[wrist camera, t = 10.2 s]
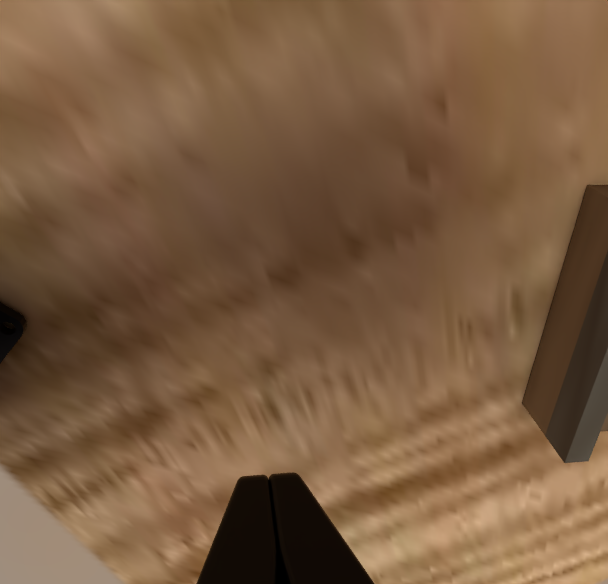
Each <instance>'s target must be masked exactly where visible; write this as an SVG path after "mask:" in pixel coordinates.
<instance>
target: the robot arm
mask: <svg viewBox="0 0 608 584" xmlns="http://www.w3.org/2000/svg"><path fill="white" fill-rule="evenodd" d="M4 322H8V323H12V324H13V325H14V326H15V328H12V329H11V328H8V327H6V326H5V325H4ZM26 326H27V322H26V319H25V318H24V316H23V315H22V314H20V313H19V312H17V311H15V310H14V309H12V308H10V307H8V306H6V305H4V304H3V303H1V302H0V363H1V362H2V360H3V359H4V358H5V357H6V355H7V354H8V353H9V351H10V350H11V349H12V348H13V346H14V345H15V344H16V343H17V341H18V340H19V339H20V337H21V336H22V334H23V332H24V331H25V329H26ZM197 584H374V582H373V581H372V579H371V578H370V577H369V575H368V574H367V572H366V571H365V569H364V568H363V566H362V565H361V564H360V562H359V561H358V559H357V558H356V556H355V555H354V553H353V552H352V551H351V549H350V548H349V546H348V545H347V543H346V542H345V540H344V539H343V538H342V536H341V535H340V533H339V532H338V530H337V529H336V527H335V526H334V524H333V523H332V522H331V520H330V519H329V517H328V516H327V514H326V513H325V511H324V510H323V509H322V507H321V506H320V504H319V503H318V501H317V500H316V498H315V497H314V496H313V494H312V493H311V491H310V490H309V488H308V487H307V485H306V484H305V483H304V481H303V480H302V478H301V477H300V476H299V475H298V474H297V473H280V474H272V475H271V476H270V477H269V480H268V477H267V476H265V475H253V476H243V477H240V478H239V480H238V481H237V483H236V486H235V488H234V491H233V493H232V496H231V498H230V501H229V503H228V506H227V508H226V511H225V513H224V516H223V518H222V521H221V523H220V526H219V528H218V531H217V533H216V536H215V538H214V541H213V543H212V546H211V549H210V551H209V554H208V556H207V559H206V561H205V564H204V566H203V569H202V571H201V574H200V576H199V579H198V581H197Z"/></svg>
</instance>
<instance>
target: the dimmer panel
mask: <svg viewBox="0 0 608 584" xmlns="http://www.w3.org/2000/svg"><path fill="white" fill-rule="evenodd" d="M522 404H523V405H524V407H525V408H526V409H527V411H528V412H529V414H530V415H531V416H532V418H533V419H534V421H535V422H536V424H537V425H538V426H539V428H540V429H541V431H542V432H543V433H544V435H545V436H546V438H547V439H548V440H549V442H550V443H551V445H552V446H553V447H554V449H555V450H556V452H557V453H558V454H559V456H560V457H561V459H562V460H563V461H564V463H571V462H584V461H589V458H590V456H591V453H592V451H593V448H594V446H595V443H596V441H597V438H598V436H599V433H600V432H601V431H608V185H587V189H586V192H585V195H584V199H583V202H582V205H581V209H580V212H579V215H578V219H577V222H576V225H575V229H574V232H573V235H572V239H571V242H570V245H569V249H568V252H567V255H566V259H565V262H564V265H563V269H562V272H561V275H560V279H559V282H558V285H557V289H556V292H555V295H554V299H553V302H552V305H551V309H550V312H549V315H548V319H547V322H546V325H545V329H544V332H543V335H542V339H541V342H540V345H539V349H538V352H537V355H536V359H535V362H534V365H533V369H532V372H531V375H530V379H529V382H528V386H527V389H526V392H525V396H524V399H523V402H522Z"/></svg>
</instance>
